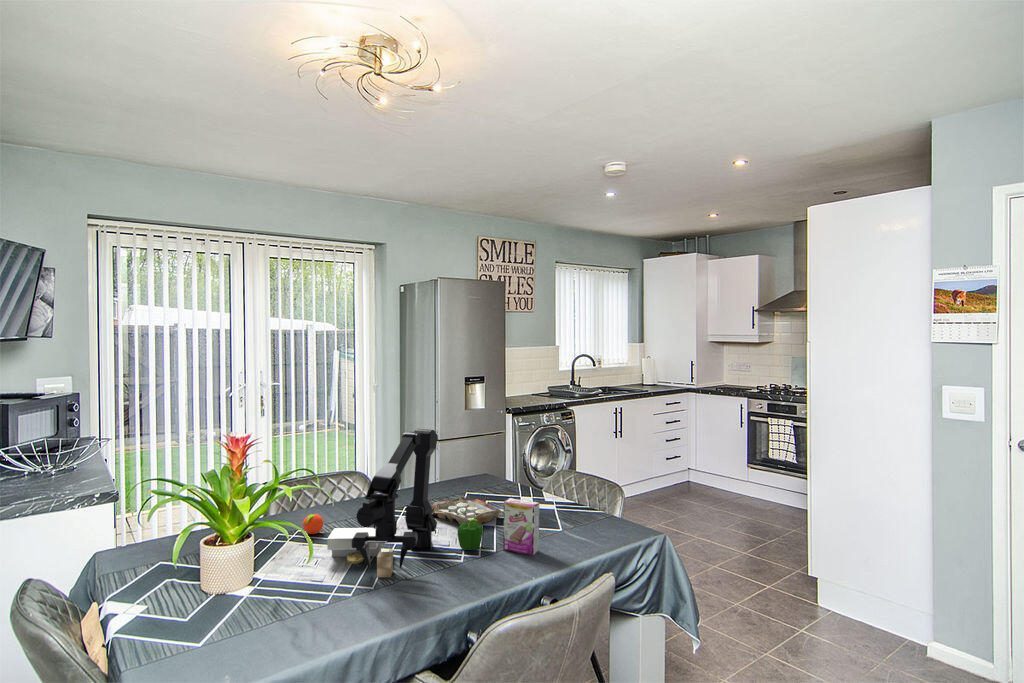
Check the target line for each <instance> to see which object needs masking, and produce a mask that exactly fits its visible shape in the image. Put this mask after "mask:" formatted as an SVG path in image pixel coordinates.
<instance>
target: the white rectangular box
mask: <svg viewBox="0 0 1024 683" xmlns="http://www.w3.org/2000/svg"><path fill="white" fill-rule="evenodd" d="M357 532H368V534H369V536H375V529H374V527H342V528H341V527H340V528H339V527H335V528H333V530H332V531H331V532H330V534H329V536H328V537H327V541H326V543H327V547H326V548H327V549H326V550H327V551H331V558H339V557H342V558H344V557H345V558H347V555H348V554H350V553H353V552H360V551H356V548H352V539H353V537H354V535H355V534H356V533H357ZM369 550H370V557H377V556H378V554H379V552H382V543H370V544H369Z"/></svg>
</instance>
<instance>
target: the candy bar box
mask: <svg viewBox="0 0 1024 683" xmlns="http://www.w3.org/2000/svg"><path fill="white" fill-rule="evenodd" d="M503 509H504V511H503V536H502V538H503V541H502V542H503V545H502V546H503V548H502V549H503V551H506V552H507V551H509V552H513V553H518V554H522V555H523V554H524V555H528V556H535V555H536V554H537V553H538V552H539V550H540V546H539V545H540V544H539V542H540V537H539V536H540V502H535V501H529V500H523V499H519V498H513V497H509V498H507V499H506V500H504V501H503Z"/></svg>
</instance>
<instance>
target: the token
mask: <svg viewBox="0 0 1024 683" xmlns="http://www.w3.org/2000/svg"><path fill="white" fill-rule="evenodd" d="M346 562H347V563H348V564H349V565H350V564H351V565H353V564H354V565H355V564H360V563H362V562H364V558H363V556H362V555H361V553H360V552H353V553H350V554H348V555H347V557H346Z"/></svg>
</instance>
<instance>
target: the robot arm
mask: <svg viewBox="0 0 1024 683" xmlns="http://www.w3.org/2000/svg"><path fill="white" fill-rule="evenodd" d="M401 436H402V437H401V440H400V442H399V444H398V445H397V447H396V448H395V450H394V452H393V454H392V456H391V457H390V459H389V461H388V462H387V464H386V465H385V466H383V467H382V468H380V469H378V471H377V472H376V473H375V474H374V476H373V477H372V479H371V482H370V484H369V487H368V490H367V492H366V494H365V500H367V501H364V502H362V507H360V508H359V509H358V510H357V513H356V514H355V515H356V520H357V523H358V524H359V526H360V527H362V528H370V527H371V526H373V528H374V529H375V536H369V534H368V532H357V533H356V534H355V535H354V537H353V539H352V548H356V551H360V553H361V555H362V556H363V561H364V562H365V565H366V566H367V568H368V570H369V569H371V568H372V567H371V563H372V562H371V556H370V550H369V544H370V543H381V544H388V543H392V544H395V543H399V544H402V545H401V549H400V556H399V557H400V558H399V569H402V567H403V563H404V561H405V557H406V555H407V553H408V551H411V552H426V551H427V552H429V551H432V546H433V542H432V541H433V540H432V538H433V537H432V535H433V534H432V533H433V532H436V529H437V525H438V521H437V520H436V519H435V517H434V516H433V514H432V508H433V506H432V504H430V502H429V486H430V484H429V483H430V473H431V472H430V469H431V458H432V455H433V453H434V452H435V450H436V449H437V443H438V442H439V440H438V439H439V435H438V434H437V433H436V431H435V429H425V428H416V429H415V430H413V431H406V432H403V434H402V435H401ZM413 454H414V455H415V465H414V478H413V494H412V500H411V502H410V503H409V504H408V505H407V506H406V507H405V517H404V519H405V524H406V527H407V528H406V530H408V531H404V532H403V535H396V534H397V528H398V527H397V526H398V521H397V520H396V499H398V498H399V497H400V496H399V495H398V492H397V491H398V490H399V488H400V486H401V482H402V476H401V474H402V473H403V470H404V468H405V467H406V465H407V463H408V462H409V460H410V458H411V456H412V455H413Z"/></svg>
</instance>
